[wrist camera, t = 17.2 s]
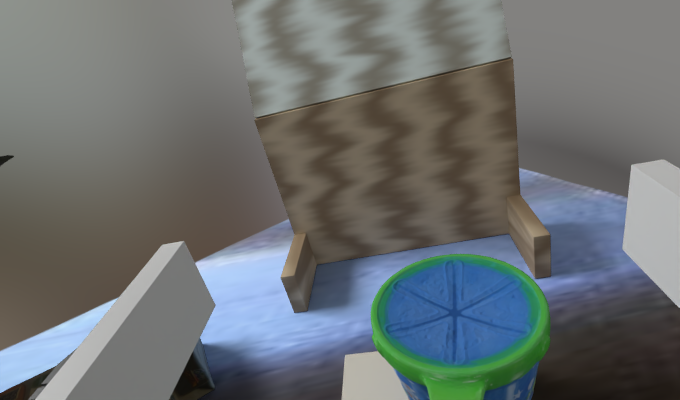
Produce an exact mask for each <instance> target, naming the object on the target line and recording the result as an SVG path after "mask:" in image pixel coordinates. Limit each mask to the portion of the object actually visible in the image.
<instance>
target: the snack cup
mask: <svg viewBox="0 0 680 400" xmlns="http://www.w3.org/2000/svg"><path fill="white" fill-rule="evenodd" d="M371 324H372V329H373V336H372V340H373V342H374V344H375V346H376V348H377V350H378V352H379V353H380V354H381V356H382V357H384V358H385V360H386V361H387V362H388V363H389V364H390V365H391V366H392V367H393V368H394V371H395V373H396V375H397V376H398V378H399V380H400V382H401V384H402V386H403V389H404V391H405V393H406V394H407V396H408V399H409V400H531V398H532V395H533V391H534V386H535V381H536V375H537V370H538V365H539V361H540V360H541V359H542V358H543V356H544V355H545V353H546V352H547V350H548V348H549V345H550V338H549V336H550V313H549V306H548V303H547V300H546V298H545V295H544V294H543V292H542V290H541V289H540V288H539V286H538V285H537V284H536V283H535V282H534V280H533V279H531V278H530V277H529V276H528V275H527V274H525V273H524V272H523V271H521V270H519V269H518V268H516V267H514V266H512V265H510V264H508V263H506V262H503V261H500V260H497V259H494V258H491V257H486V256H480V255H471V254H450V255H442V256H436V257H432V258H428V259H424V260H421V261H418V262H415V263H413V264H411V265H409V266H407V267H405V268H403V269H401V270H400V271H398V272H397V273H396V274H394V275H393V276H392V277H390V278H389V279H388V280H387V281H386V282H385V283H384V284H383V286H382V287H381V288H380V290H379V291H378V293H377V295H376V296H375V299H374V301H373V304H372V308H371Z"/></svg>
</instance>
